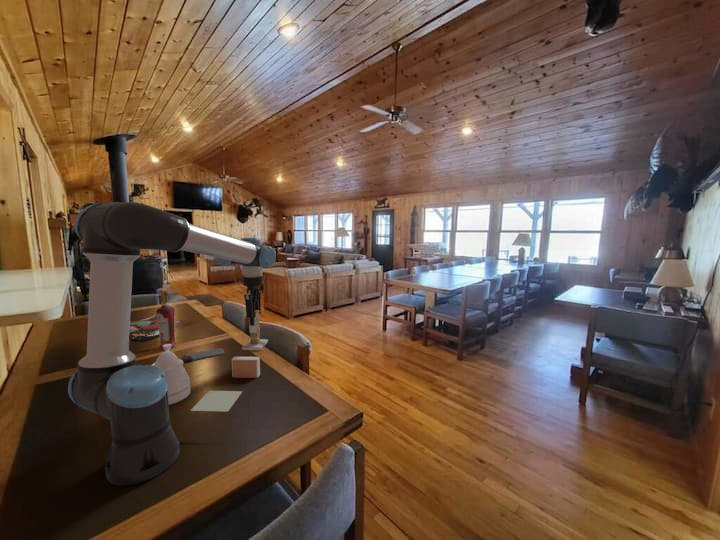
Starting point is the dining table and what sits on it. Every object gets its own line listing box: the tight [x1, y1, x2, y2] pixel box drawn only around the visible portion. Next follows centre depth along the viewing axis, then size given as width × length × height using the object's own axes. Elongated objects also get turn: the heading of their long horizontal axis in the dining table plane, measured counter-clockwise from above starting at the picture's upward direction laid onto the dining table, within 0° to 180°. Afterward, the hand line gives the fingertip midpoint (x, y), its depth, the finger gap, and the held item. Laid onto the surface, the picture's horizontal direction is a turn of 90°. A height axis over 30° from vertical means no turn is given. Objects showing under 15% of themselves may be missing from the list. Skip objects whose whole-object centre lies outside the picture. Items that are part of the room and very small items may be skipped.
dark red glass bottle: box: [155, 289, 177, 350], centre depth 146 cm, size 7×7×28 cm
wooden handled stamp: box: [241, 310, 269, 351], centre depth 129 cm, size 9×8×15 cm
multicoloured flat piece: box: [130, 314, 180, 343], centre depth 176 cm, size 35×35×2 cm
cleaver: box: [150, 347, 226, 365], centre depth 137 cm, size 30×10×2 cm, turn 128°
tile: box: [231, 355, 261, 379], centre depth 120 cm, size 3×10×8 cm, turn 89°
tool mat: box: [189, 390, 243, 413], centre depth 104 cm, size 12×12×1 cm
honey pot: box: [152, 344, 191, 406], centre depth 105 cm, size 13×13×18 cm
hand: (254, 330), depth 129 cm, fingers closed on wooden handled stamp, 3 cm apart
